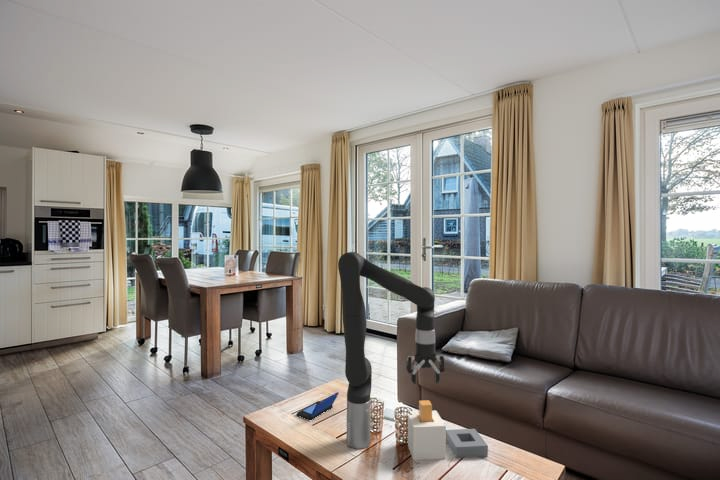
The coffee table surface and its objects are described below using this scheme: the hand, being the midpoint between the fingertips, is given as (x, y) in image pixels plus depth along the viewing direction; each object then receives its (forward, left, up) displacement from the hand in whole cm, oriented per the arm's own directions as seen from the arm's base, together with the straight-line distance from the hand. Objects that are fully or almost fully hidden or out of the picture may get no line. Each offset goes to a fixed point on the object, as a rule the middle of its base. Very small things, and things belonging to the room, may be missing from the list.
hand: (425, 382), depth 138 cm
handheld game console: (-42, +33, -26) cm, 59 cm away
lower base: (+16, 0, -26) cm, 30 cm away
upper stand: (0, 0, -26) cm, 26 cm away
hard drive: (-10, +29, -26) cm, 40 cm away
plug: (0, 0, -17) cm, 17 cm away
